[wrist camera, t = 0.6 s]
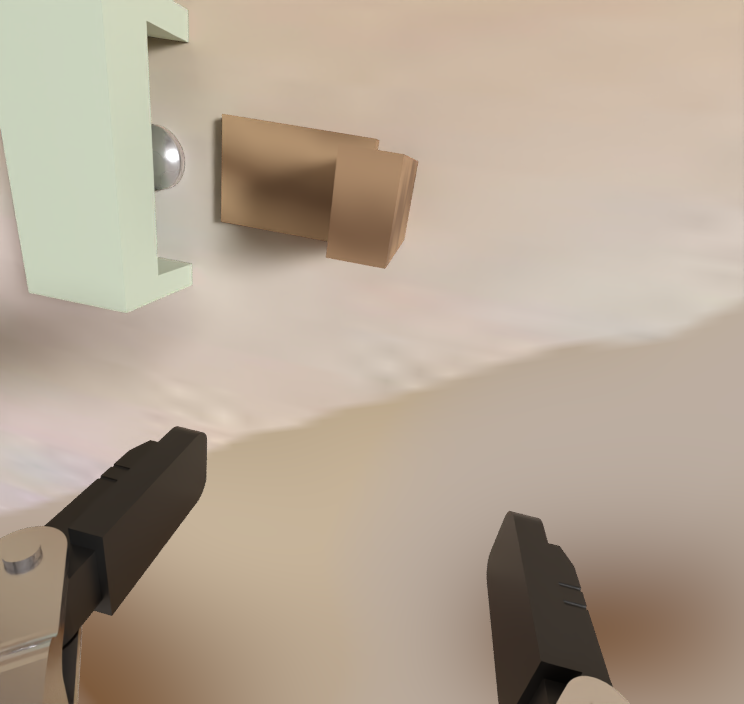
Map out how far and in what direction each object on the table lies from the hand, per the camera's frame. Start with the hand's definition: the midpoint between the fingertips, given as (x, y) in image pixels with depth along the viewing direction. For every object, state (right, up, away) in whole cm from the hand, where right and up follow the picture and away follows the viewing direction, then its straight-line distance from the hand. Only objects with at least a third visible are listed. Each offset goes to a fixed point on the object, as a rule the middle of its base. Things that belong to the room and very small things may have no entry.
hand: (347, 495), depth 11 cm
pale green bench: (-18, +20, +25) cm, 37 cm away
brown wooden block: (-4, +17, +24) cm, 30 cm away
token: (-17, +20, +25) cm, 37 cm away
